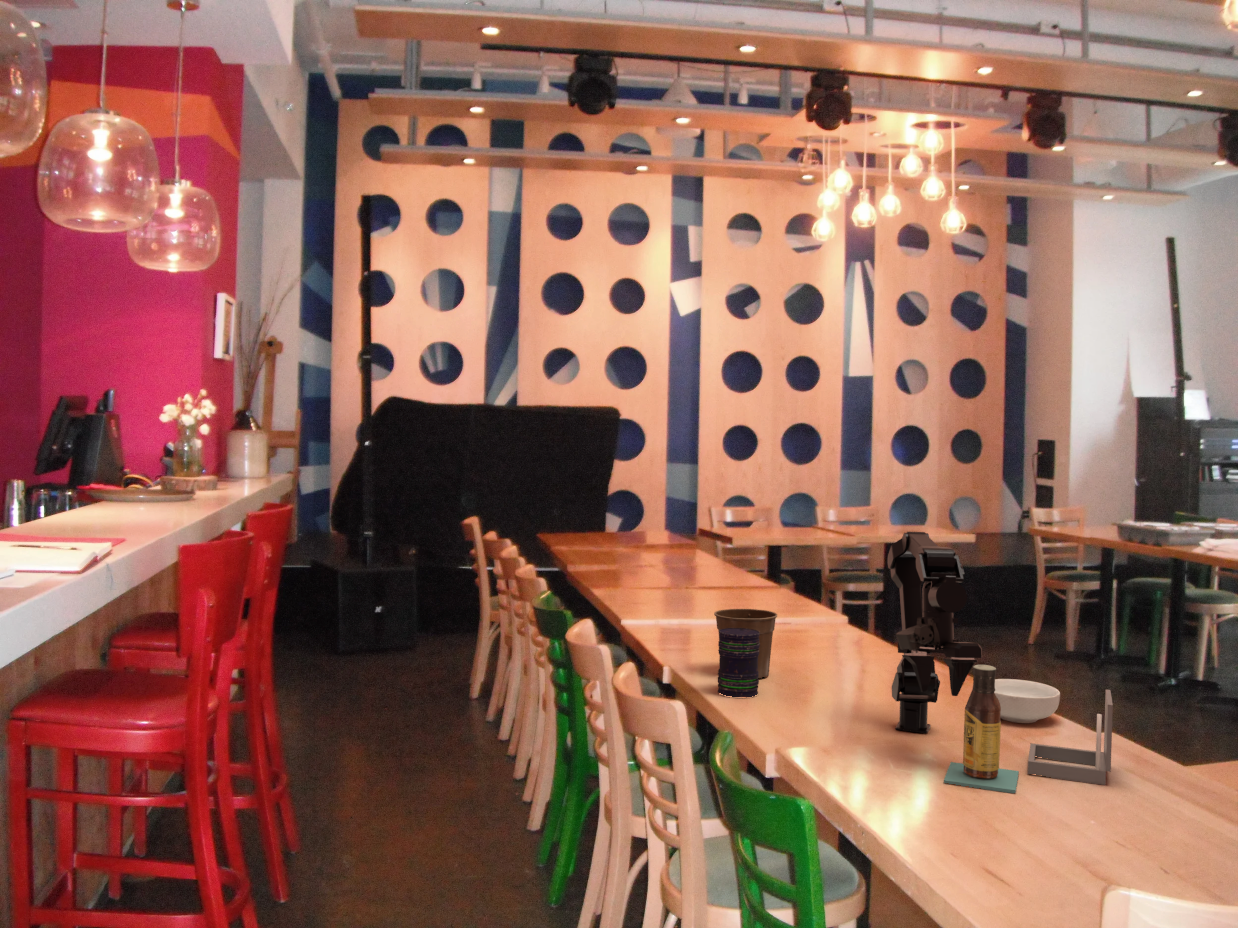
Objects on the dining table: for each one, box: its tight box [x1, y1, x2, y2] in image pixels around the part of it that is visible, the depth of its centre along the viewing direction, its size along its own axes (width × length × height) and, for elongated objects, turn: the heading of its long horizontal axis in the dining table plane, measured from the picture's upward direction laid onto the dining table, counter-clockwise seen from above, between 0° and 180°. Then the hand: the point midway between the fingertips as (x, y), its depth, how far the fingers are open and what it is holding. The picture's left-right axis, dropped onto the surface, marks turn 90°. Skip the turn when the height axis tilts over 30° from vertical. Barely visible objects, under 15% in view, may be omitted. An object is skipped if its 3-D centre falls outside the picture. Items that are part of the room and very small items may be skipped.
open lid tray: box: [1027, 689, 1114, 786], centre depth 196 cm, size 13×14×14 cm
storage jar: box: [717, 628, 760, 698], centre depth 251 cm, size 10×10×15 cm
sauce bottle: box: [962, 664, 1002, 779], centre depth 189 cm, size 6×6×20 cm
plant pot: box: [714, 608, 778, 679], centre depth 271 cm, size 16×16×16 cm
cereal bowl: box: [994, 678, 1061, 724], centre depth 233 cm, size 17×17×7 cm
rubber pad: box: [943, 761, 1020, 794], centre depth 190 cm, size 12×12×1 cm
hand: (939, 693), depth 202 cm, fingers open, 9 cm apart
